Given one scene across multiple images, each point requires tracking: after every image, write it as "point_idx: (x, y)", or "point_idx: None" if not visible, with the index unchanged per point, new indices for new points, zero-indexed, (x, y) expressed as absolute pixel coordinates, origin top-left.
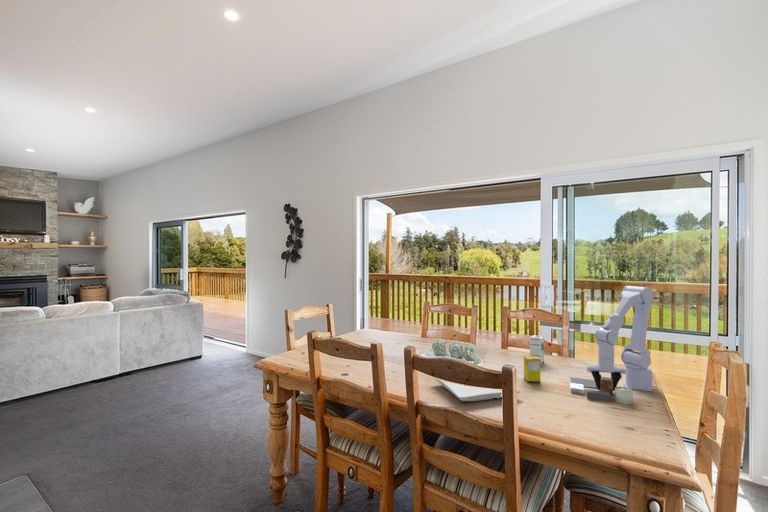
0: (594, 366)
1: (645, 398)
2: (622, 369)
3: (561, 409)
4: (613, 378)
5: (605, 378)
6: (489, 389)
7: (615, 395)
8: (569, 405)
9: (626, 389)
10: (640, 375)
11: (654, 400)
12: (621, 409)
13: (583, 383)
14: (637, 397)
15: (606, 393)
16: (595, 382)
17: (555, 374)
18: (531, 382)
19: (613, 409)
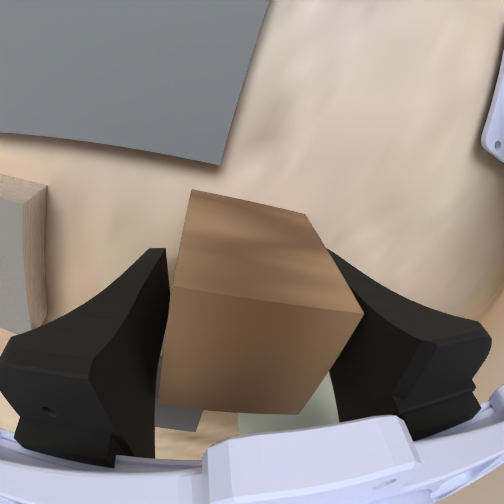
0: (33, 499)
1: (455, 301)
2: (477, 478)
3: (7, 430)
4: (352, 376)
5: (249, 359)
6: None
7: (237, 417)
8: (16, 415)
9: None
10: None
11: (469, 317)
12: (217, 442)
13: (77, 33)
14: (427, 297)
15: (177, 420)
16: (121, 280)
17: None
18: None
19: (180, 445)
